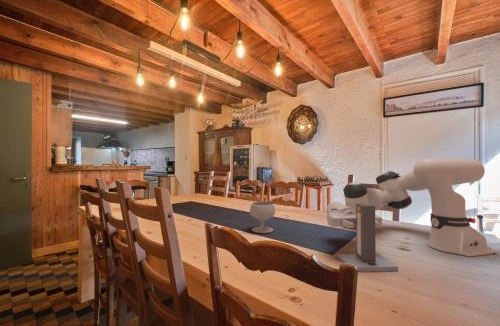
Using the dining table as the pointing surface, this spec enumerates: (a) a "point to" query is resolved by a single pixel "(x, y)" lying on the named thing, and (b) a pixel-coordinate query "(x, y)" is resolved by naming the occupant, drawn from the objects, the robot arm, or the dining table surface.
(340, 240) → the dining table surface
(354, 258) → the mounting plate
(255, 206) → the chalice
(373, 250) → the tall taupe pillar
